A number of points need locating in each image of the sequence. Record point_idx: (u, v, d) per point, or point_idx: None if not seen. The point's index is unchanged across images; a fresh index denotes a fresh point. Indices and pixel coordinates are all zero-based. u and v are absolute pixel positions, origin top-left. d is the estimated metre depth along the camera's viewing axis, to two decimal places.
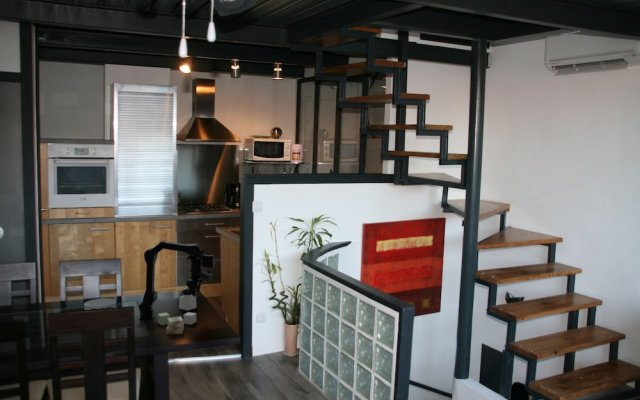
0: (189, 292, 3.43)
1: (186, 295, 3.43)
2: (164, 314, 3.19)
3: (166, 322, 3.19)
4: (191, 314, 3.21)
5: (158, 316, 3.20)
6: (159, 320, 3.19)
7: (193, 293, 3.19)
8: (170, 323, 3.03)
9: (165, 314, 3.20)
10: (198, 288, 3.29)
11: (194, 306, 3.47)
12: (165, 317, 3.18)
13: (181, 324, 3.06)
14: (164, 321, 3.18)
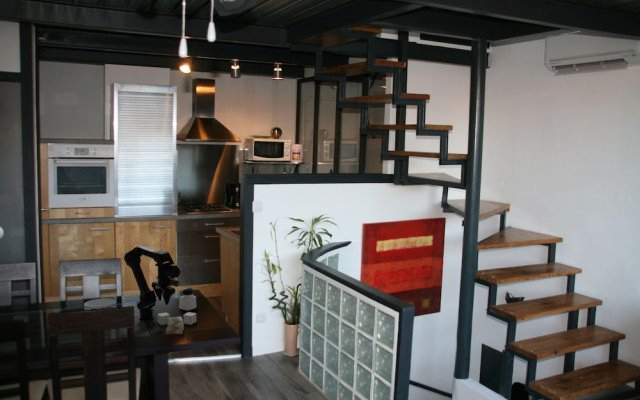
0: (189, 292, 3.43)
1: (186, 295, 3.43)
2: (164, 314, 3.19)
3: (166, 322, 3.19)
4: (191, 314, 3.21)
5: (158, 316, 3.20)
6: (159, 320, 3.19)
7: (167, 301, 3.15)
8: (170, 323, 3.03)
9: (165, 314, 3.20)
10: (160, 297, 3.23)
11: (194, 306, 3.47)
12: (165, 317, 3.18)
13: (181, 324, 3.06)
14: (164, 321, 3.18)
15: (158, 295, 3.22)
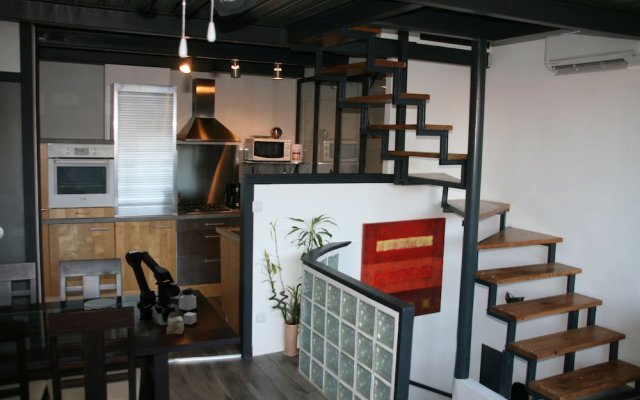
0: (189, 292, 3.43)
1: (186, 295, 3.43)
2: None
3: (166, 322, 3.19)
4: (191, 314, 3.21)
5: (158, 316, 3.20)
6: (159, 320, 3.19)
7: (165, 319, 3.18)
8: (170, 323, 3.03)
9: None
10: None
11: (194, 306, 3.47)
12: None
13: (181, 324, 3.06)
14: None
15: None
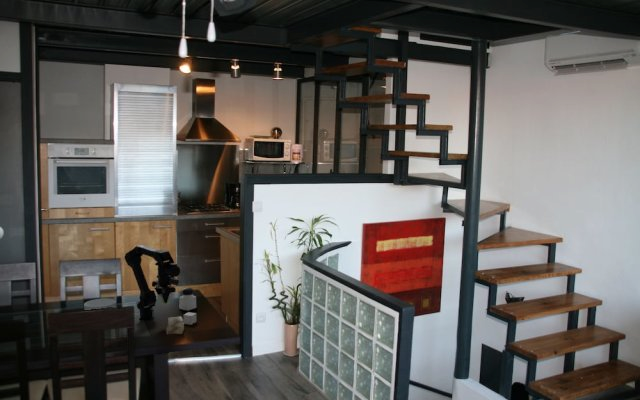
0: (189, 292, 3.43)
1: (186, 295, 3.43)
2: None
3: None
4: (191, 314, 3.21)
5: (158, 296, 3.18)
6: (159, 300, 3.17)
7: (166, 299, 3.16)
8: (170, 323, 3.03)
9: None
10: None
11: (194, 306, 3.47)
12: None
13: (181, 324, 3.05)
14: None
15: None
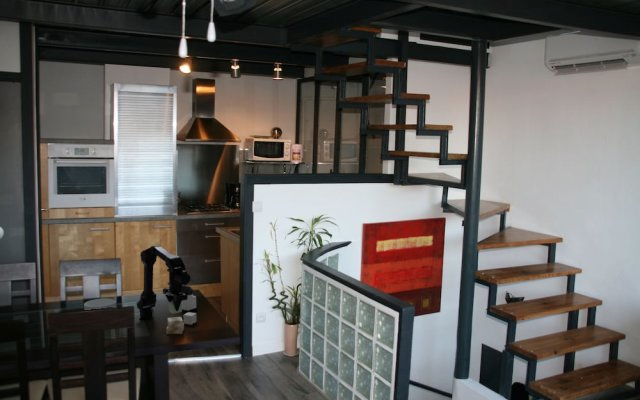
0: None
1: None
2: None
3: (178, 310, 3.05)
4: (191, 314, 3.21)
5: (169, 304, 3.06)
6: (170, 308, 3.05)
7: (177, 307, 3.04)
8: (170, 323, 3.03)
9: None
10: None
11: (194, 306, 3.47)
12: None
13: (180, 324, 3.05)
14: None
15: None
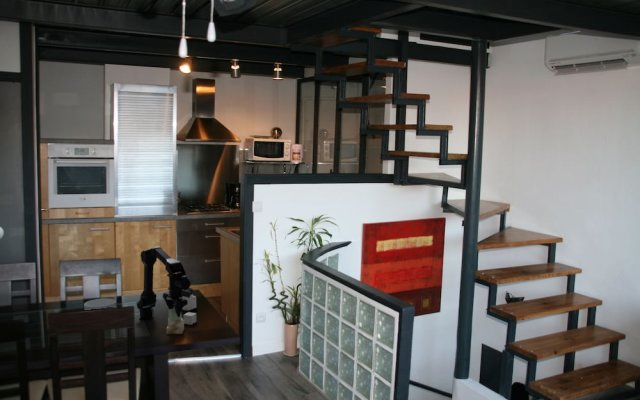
0: None
1: None
2: None
3: (178, 318, 3.06)
4: (191, 314, 3.21)
5: (169, 311, 3.07)
6: (170, 316, 3.06)
7: (179, 313, 3.03)
8: (170, 323, 3.03)
9: None
10: (172, 308, 3.10)
11: (194, 306, 3.47)
12: None
13: (181, 324, 3.05)
14: (175, 317, 3.05)
15: (170, 307, 3.10)
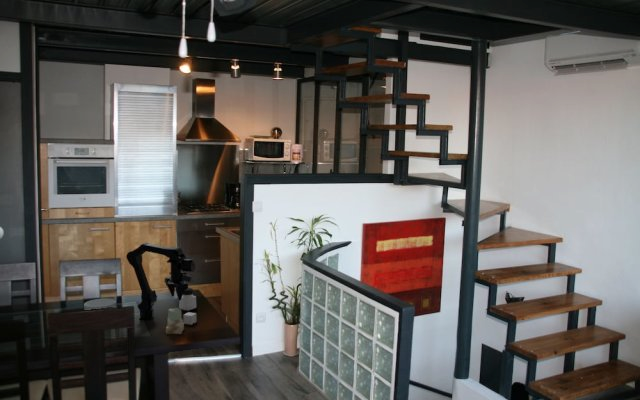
0: (189, 292, 3.43)
1: (186, 295, 3.43)
2: (175, 310, 3.07)
3: (177, 318, 3.06)
4: (191, 314, 3.21)
5: (169, 311, 3.07)
6: (170, 315, 3.06)
7: (180, 297, 3.18)
8: (170, 323, 3.03)
9: (177, 309, 3.07)
10: (173, 292, 3.26)
11: (194, 306, 3.47)
12: (177, 313, 3.06)
13: (180, 324, 3.06)
14: (175, 316, 3.06)
15: (171, 291, 3.25)
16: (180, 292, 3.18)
